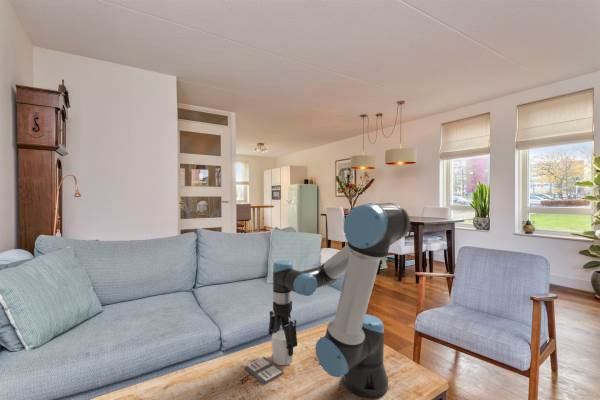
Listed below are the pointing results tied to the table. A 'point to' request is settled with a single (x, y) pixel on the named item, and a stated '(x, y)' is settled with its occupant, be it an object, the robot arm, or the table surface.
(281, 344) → the white cup
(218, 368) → the table surface
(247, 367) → the label board
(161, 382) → the table surface
